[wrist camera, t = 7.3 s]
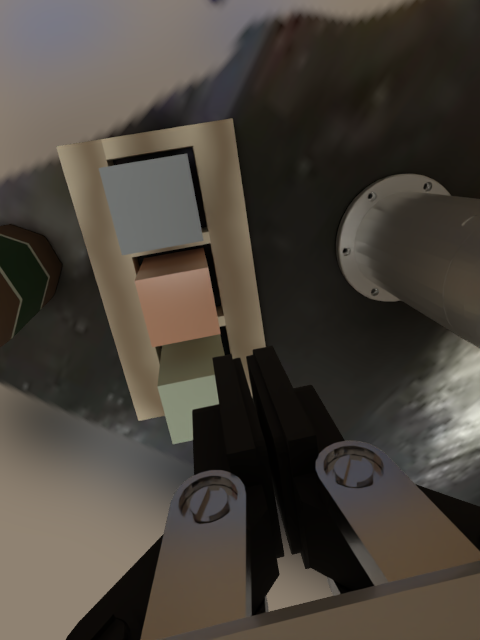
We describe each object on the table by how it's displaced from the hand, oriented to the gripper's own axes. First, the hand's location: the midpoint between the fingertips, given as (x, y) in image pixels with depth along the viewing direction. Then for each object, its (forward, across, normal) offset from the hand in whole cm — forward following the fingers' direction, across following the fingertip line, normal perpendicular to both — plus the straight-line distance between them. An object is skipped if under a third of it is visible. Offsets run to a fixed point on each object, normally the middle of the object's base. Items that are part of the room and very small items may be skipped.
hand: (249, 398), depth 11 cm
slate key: (+26, +3, -4) cm, 27 cm away
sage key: (+26, +3, +12) cm, 29 cm away
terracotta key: (+28, +3, +4) cm, 29 cm away
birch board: (+29, +3, +4) cm, 30 cm away
